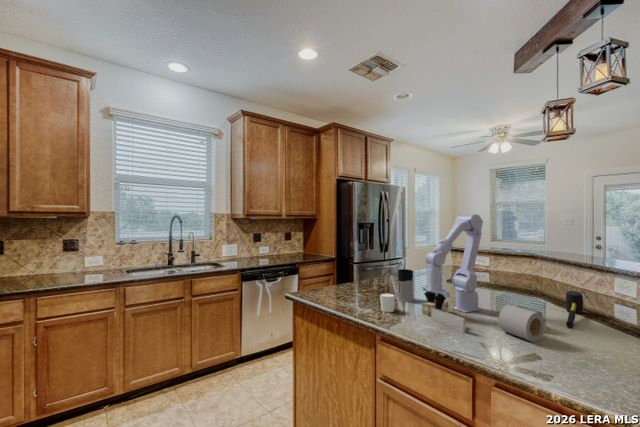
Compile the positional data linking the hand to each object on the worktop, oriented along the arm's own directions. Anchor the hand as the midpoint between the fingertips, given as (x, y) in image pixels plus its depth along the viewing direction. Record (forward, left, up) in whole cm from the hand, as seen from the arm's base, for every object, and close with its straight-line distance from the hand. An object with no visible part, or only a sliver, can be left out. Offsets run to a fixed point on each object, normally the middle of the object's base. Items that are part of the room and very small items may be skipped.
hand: (435, 309), depth 138 cm
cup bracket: (+7, +14, -1) cm, 15 cm away
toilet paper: (-8, +33, -2) cm, 34 cm away
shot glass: (+17, -12, -2) cm, 21 cm away
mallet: (-46, +30, -2) cm, 55 cm away
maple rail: (0, 0, -1) cm, 1 cm away
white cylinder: (-21, +28, -2) cm, 35 cm away
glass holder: (0, -24, -2) cm, 24 cm away
